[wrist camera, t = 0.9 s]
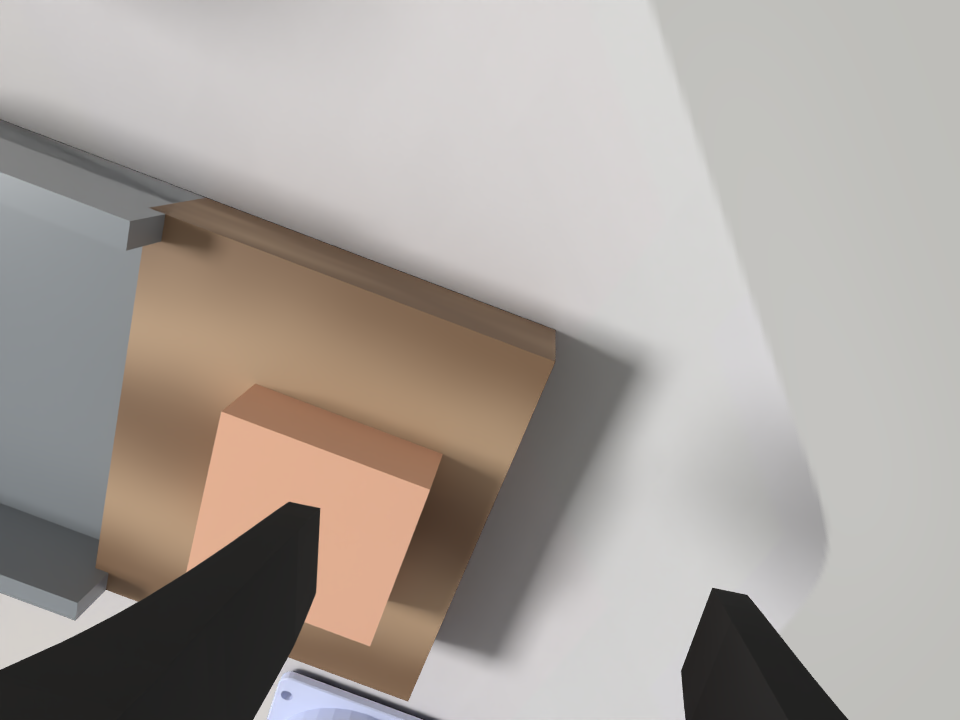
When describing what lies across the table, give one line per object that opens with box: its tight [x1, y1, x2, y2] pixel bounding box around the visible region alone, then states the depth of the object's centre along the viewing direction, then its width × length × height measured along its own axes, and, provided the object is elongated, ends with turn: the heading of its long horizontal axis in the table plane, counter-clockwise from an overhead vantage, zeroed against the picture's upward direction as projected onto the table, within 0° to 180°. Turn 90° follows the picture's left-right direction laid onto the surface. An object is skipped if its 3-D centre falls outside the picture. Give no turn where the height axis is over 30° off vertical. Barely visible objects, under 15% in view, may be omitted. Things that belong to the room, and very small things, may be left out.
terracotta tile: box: [186, 384, 443, 646], centre depth 19 cm, size 6×6×2 cm
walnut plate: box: [95, 198, 555, 701], centre depth 21 cm, size 14×12×3 cm
